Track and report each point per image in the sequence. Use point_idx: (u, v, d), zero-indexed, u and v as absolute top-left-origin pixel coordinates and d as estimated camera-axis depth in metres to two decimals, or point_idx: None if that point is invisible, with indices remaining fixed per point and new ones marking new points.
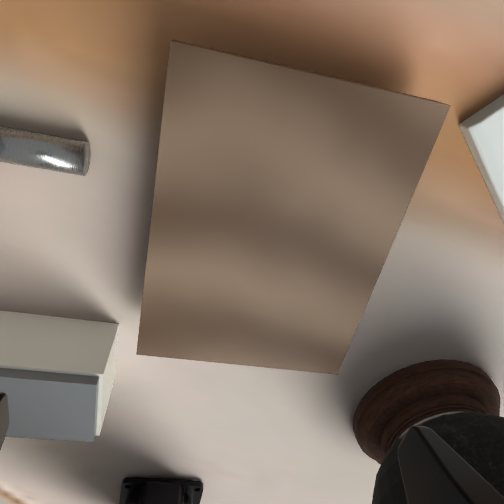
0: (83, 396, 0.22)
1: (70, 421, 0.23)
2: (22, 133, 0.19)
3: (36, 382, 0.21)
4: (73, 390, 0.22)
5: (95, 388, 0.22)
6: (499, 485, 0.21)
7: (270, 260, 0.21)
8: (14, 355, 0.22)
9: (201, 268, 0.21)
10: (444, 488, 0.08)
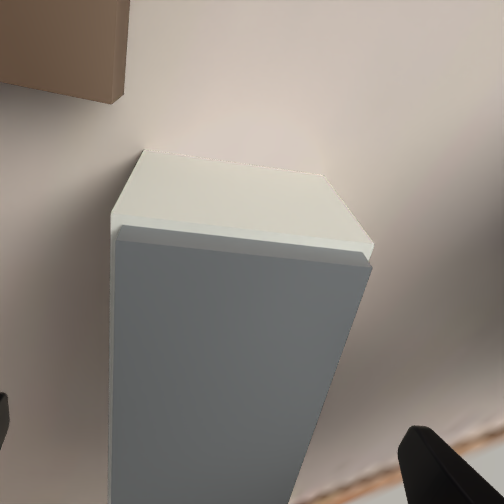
0: (168, 276, 0.07)
1: (274, 316, 0.08)
2: None
3: (121, 370, 0.08)
4: (145, 298, 0.08)
5: (131, 244, 0.07)
6: None
7: None
8: None
9: None
10: (444, 488, 0.08)
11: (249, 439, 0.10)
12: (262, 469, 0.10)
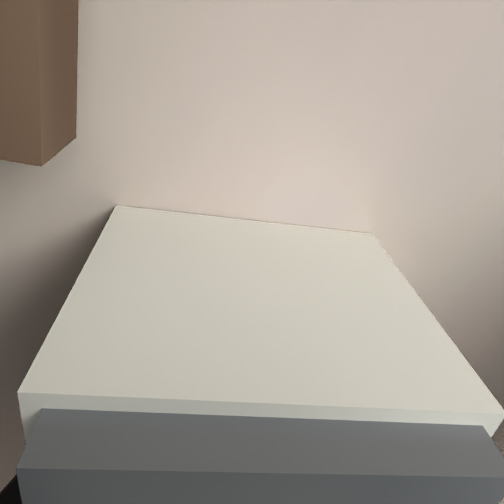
0: None
1: None
2: None
3: None
4: None
5: (50, 472, 0.03)
6: None
7: None
8: None
9: None
10: None
11: None
12: None
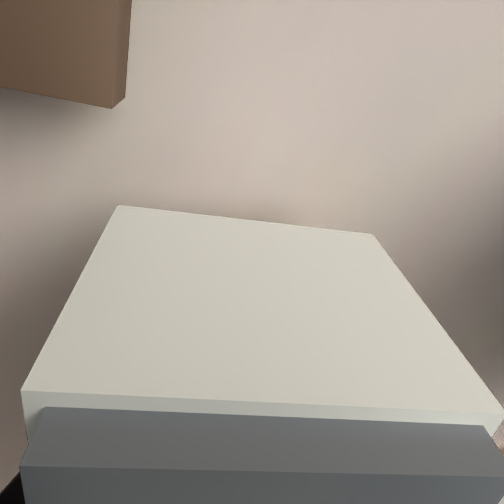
0: None
1: None
2: None
3: None
4: None
5: (53, 469, 0.03)
6: None
7: None
8: None
9: None
10: None
11: None
12: None
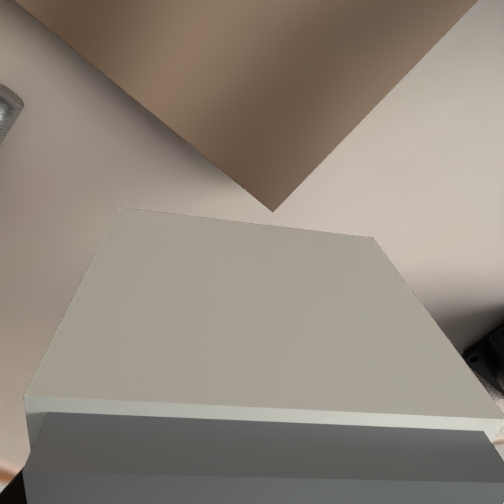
0: None
1: None
2: None
3: None
4: None
5: (56, 475, 0.03)
6: None
7: None
8: None
9: (187, 29, 0.13)
10: None
11: None
12: None
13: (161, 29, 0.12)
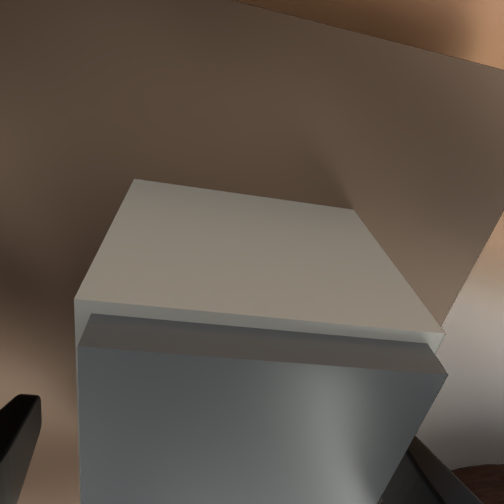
0: (156, 390, 0.05)
1: (306, 434, 0.06)
2: None
3: (92, 499, 0.06)
4: (123, 418, 0.05)
5: (101, 351, 0.05)
6: None
7: None
8: None
9: None
10: (416, 486, 0.08)
11: None
12: None
13: (75, 364, 0.11)
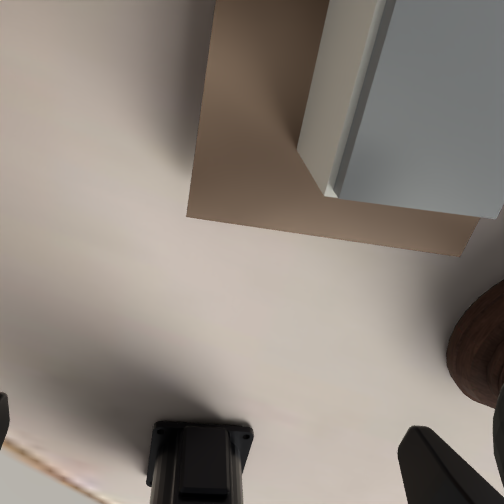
0: None
1: None
2: None
3: None
4: None
5: None
6: None
7: None
8: (361, 19, 0.10)
9: (291, 62, 0.14)
10: (444, 488, 0.08)
11: None
12: None
13: (280, 39, 0.13)
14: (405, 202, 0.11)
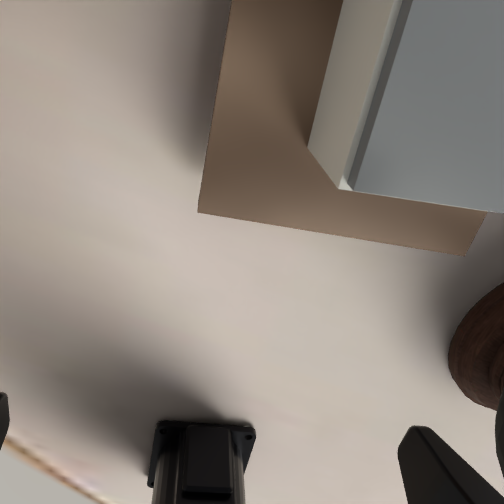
0: None
1: None
2: None
3: None
4: None
5: None
6: None
7: None
8: (378, 17, 0.10)
9: (304, 61, 0.14)
10: (444, 488, 0.08)
11: None
12: None
13: (294, 39, 0.14)
14: (417, 195, 0.11)
